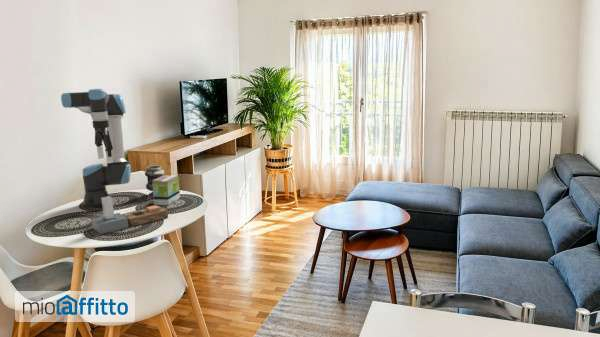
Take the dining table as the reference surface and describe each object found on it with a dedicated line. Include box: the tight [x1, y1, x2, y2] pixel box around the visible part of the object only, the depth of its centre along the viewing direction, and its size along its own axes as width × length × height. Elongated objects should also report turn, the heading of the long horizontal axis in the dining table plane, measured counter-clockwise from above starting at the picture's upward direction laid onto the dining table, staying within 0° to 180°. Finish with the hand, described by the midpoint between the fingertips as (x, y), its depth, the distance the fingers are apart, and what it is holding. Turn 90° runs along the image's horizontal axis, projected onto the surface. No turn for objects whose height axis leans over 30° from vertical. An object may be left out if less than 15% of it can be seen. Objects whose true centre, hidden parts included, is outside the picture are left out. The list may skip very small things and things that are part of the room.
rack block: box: [91, 212, 129, 235], centre depth 244 cm, size 12×14×5 cm
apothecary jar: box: [144, 164, 165, 197], centre depth 302 cm, size 12×12×18 cm
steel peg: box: [101, 195, 115, 221], centre depth 243 cm, size 4×4×16 cm
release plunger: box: [145, 204, 159, 213], centre depth 258 cm, size 5×5×5 cm
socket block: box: [122, 205, 169, 227], centre depth 256 cm, size 12×20×4 cm, turn 130°
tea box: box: [152, 174, 181, 206], centre depth 286 cm, size 15×10×15 cm, turn 168°
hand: (105, 160), depth 249 cm, fingers open, 13 cm apart
